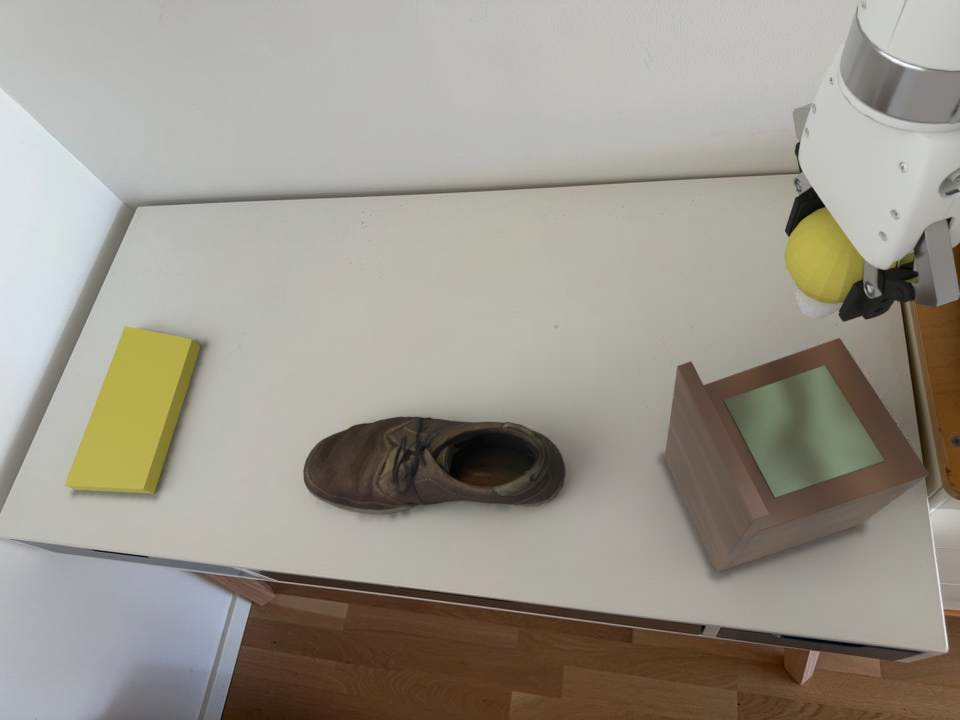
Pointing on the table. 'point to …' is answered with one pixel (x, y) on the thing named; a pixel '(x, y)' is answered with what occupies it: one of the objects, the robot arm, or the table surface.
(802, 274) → the light bulb
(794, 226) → the robot arm
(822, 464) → the wooden frame
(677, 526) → the table surface
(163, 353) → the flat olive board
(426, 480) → the shoe
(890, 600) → the table surface
